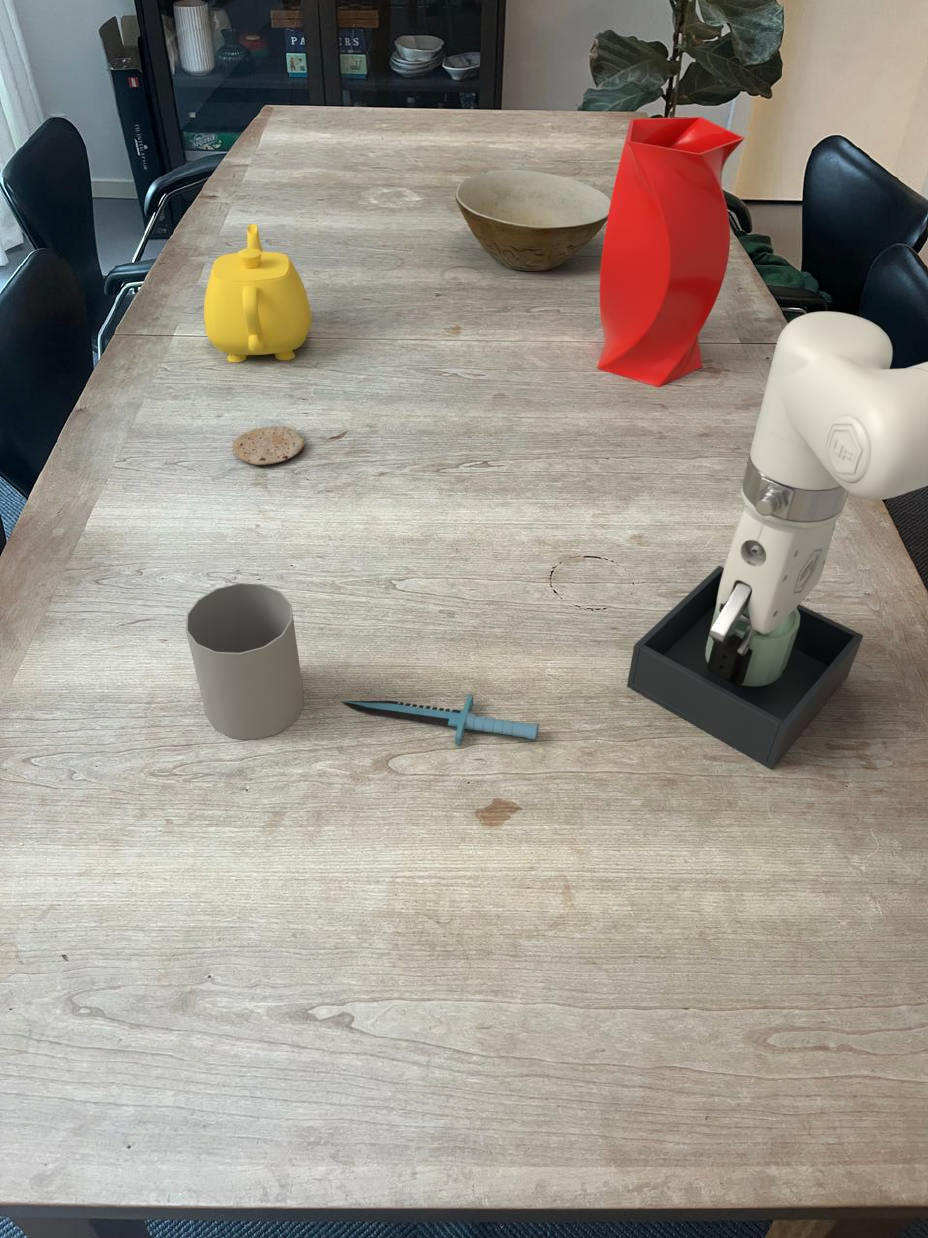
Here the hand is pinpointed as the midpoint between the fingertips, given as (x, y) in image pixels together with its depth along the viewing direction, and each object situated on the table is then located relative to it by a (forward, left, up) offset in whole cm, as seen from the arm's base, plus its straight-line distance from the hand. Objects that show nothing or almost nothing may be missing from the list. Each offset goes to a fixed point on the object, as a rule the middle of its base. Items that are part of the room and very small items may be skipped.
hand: (747, 652), depth 86 cm
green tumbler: (0, 0, -1) cm, 1 cm away
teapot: (+80, -14, -4) cm, 81 cm away
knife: (+17, +21, -4) cm, 27 cm away
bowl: (+70, -60, -4) cm, 92 cm away
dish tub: (0, 0, -4) cm, 4 cm away
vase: (+38, -45, -4) cm, 59 cm away
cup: (+30, +30, -4) cm, 43 cm away
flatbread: (+59, +3, -4) cm, 59 cm away
